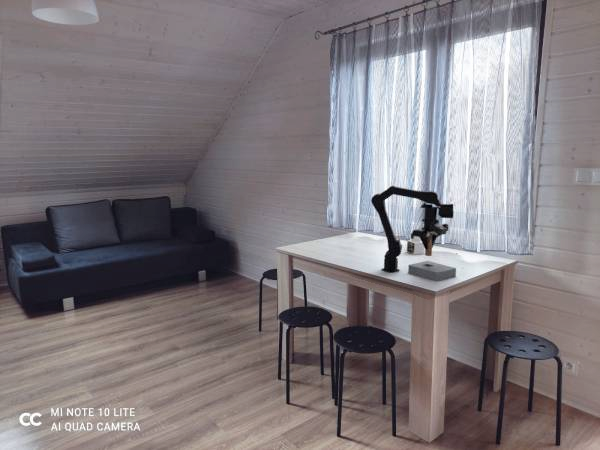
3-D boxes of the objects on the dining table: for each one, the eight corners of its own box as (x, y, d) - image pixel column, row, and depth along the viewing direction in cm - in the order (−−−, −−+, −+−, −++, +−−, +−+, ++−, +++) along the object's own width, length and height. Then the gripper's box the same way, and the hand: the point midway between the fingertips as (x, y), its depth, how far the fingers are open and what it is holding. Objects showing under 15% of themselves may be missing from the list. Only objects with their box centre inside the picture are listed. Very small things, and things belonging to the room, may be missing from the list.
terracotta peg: (428, 256, 215) (429, 235, 213) (423, 255, 217) (424, 234, 215) (432, 255, 216) (433, 235, 215) (427, 254, 219) (428, 234, 217)
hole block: (436, 281, 205) (437, 272, 205) (408, 272, 219) (408, 264, 218) (455, 276, 213) (456, 268, 213) (426, 268, 227) (427, 260, 226)
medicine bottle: (406, 252, 263) (407, 232, 261) (416, 251, 265) (417, 231, 263) (413, 254, 256) (414, 234, 254) (424, 253, 259) (425, 233, 256)
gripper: (431, 221, 202) (429, 255, 204) (456, 217, 212) (454, 249, 215) (412, 218, 211) (410, 250, 213) (437, 214, 221) (435, 245, 224)
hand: (428, 249), depth 216 cm, fingers closed on terracotta peg, 3 cm apart
